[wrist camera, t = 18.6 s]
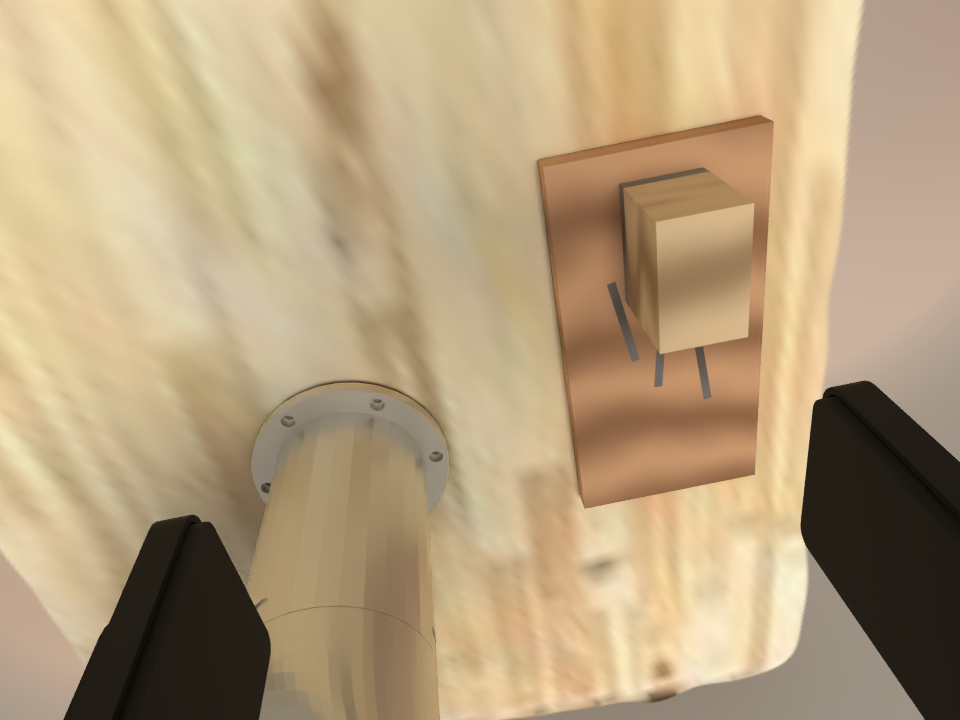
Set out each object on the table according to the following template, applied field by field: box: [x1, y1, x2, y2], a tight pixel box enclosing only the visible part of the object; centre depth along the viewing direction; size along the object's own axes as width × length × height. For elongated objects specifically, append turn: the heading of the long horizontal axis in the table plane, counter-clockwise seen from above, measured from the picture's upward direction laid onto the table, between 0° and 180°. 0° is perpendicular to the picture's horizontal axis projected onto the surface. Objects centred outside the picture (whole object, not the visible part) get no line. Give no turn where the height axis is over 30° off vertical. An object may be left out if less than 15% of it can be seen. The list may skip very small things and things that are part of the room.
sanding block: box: [619, 167, 754, 354], centre depth 35 cm, size 7×4×6 cm, turn 10°
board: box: [538, 115, 774, 508], centre depth 42 cm, size 24×12×2 cm, turn 10°
